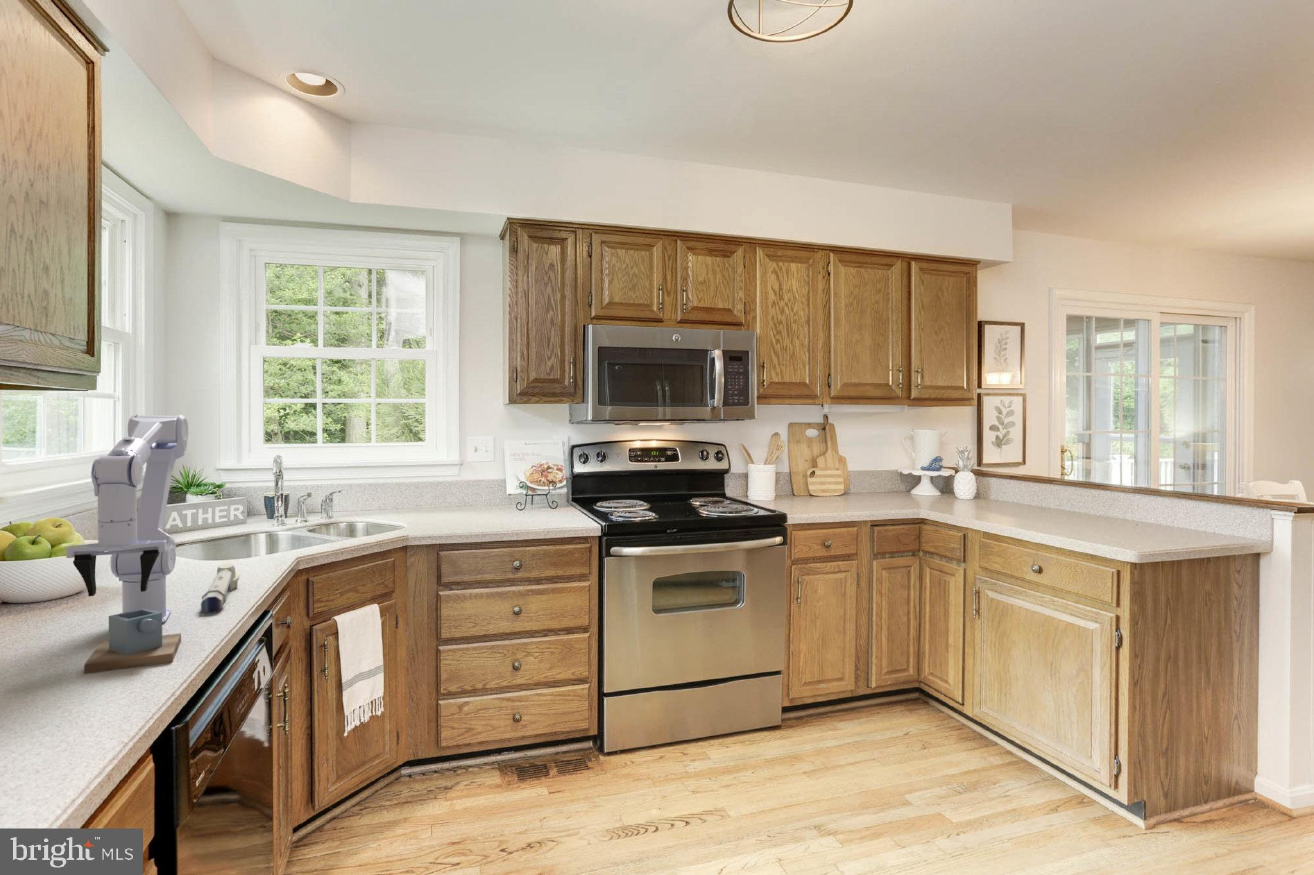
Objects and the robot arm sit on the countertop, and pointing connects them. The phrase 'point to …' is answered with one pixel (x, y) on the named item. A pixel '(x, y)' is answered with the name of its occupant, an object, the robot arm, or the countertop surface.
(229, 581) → the beige flashlight
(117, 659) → the base
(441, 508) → the countertop surface
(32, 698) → the countertop surface
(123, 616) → the duct sleeve
